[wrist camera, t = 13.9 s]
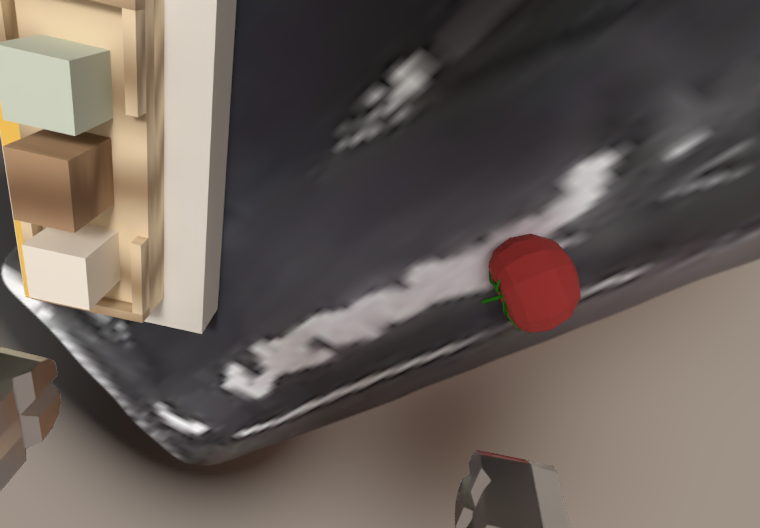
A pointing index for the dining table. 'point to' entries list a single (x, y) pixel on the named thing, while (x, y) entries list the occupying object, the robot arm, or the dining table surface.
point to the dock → (187, 158)
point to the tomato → (534, 282)
